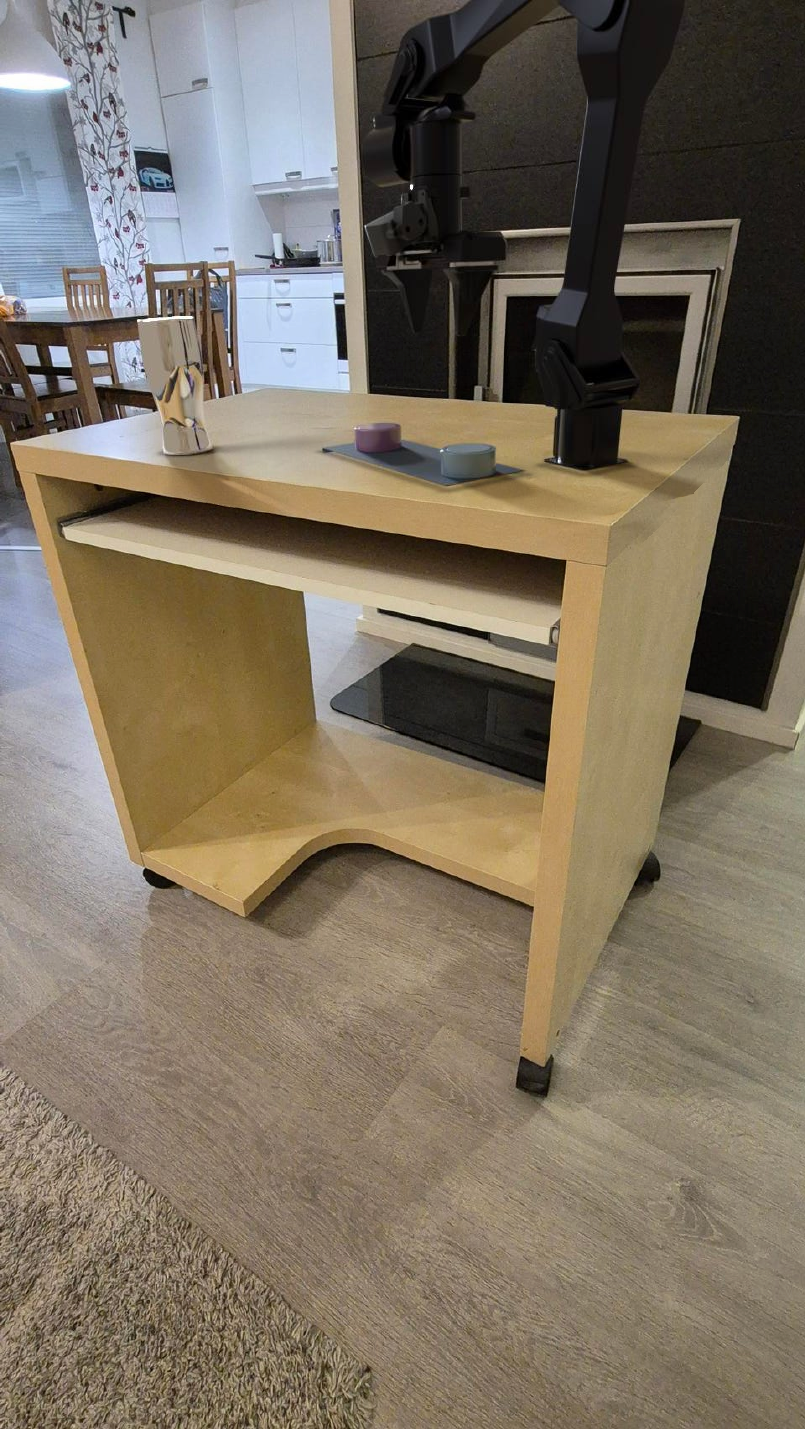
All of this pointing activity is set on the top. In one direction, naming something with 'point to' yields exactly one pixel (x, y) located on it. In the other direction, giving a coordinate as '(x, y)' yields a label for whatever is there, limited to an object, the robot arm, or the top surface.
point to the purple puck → (377, 437)
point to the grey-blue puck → (468, 460)
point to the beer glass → (176, 382)
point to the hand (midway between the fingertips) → (438, 334)
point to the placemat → (412, 461)
